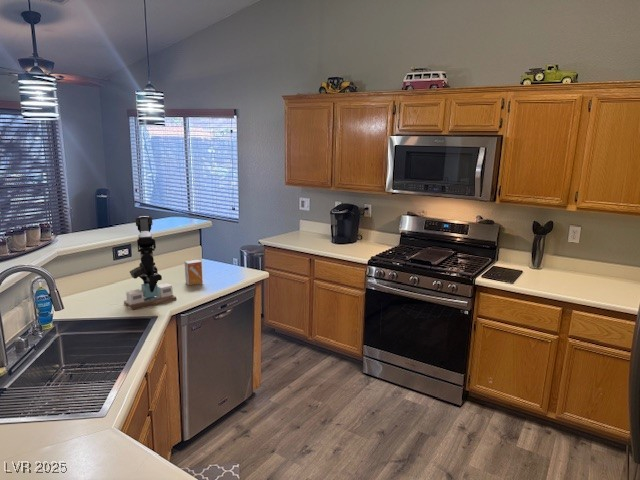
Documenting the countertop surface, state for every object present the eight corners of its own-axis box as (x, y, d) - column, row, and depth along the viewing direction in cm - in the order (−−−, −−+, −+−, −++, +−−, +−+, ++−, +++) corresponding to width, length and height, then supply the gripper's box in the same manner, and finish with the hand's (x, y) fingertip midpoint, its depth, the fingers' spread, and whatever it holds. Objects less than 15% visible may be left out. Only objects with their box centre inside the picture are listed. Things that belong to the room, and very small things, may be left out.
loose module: (142, 295, 224) (141, 284, 223) (154, 293, 228) (153, 282, 226) (146, 298, 220) (145, 286, 219) (158, 295, 224) (157, 284, 223)
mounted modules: (126, 301, 219) (126, 291, 218) (167, 292, 233) (167, 283, 232) (131, 304, 215) (130, 294, 214) (173, 295, 229) (172, 285, 228)
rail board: (124, 303, 222) (123, 301, 221) (166, 294, 236) (166, 291, 236) (133, 310, 213) (132, 307, 213) (176, 299, 228) (176, 297, 227)
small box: (189, 285, 250) (187, 263, 248) (185, 283, 256) (184, 261, 253) (203, 283, 255) (201, 261, 252) (199, 280, 260) (198, 259, 257)
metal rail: (126, 302, 219) (125, 301, 219) (168, 292, 234) (168, 291, 234) (130, 305, 215) (130, 304, 215) (173, 295, 229) (173, 294, 229)
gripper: (123, 260, 222) (126, 289, 225) (138, 267, 208) (140, 299, 211) (146, 256, 229) (148, 285, 232) (161, 263, 215) (163, 294, 219)
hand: (149, 290), depth 223 cm, fingers closed on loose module, 5 cm apart
